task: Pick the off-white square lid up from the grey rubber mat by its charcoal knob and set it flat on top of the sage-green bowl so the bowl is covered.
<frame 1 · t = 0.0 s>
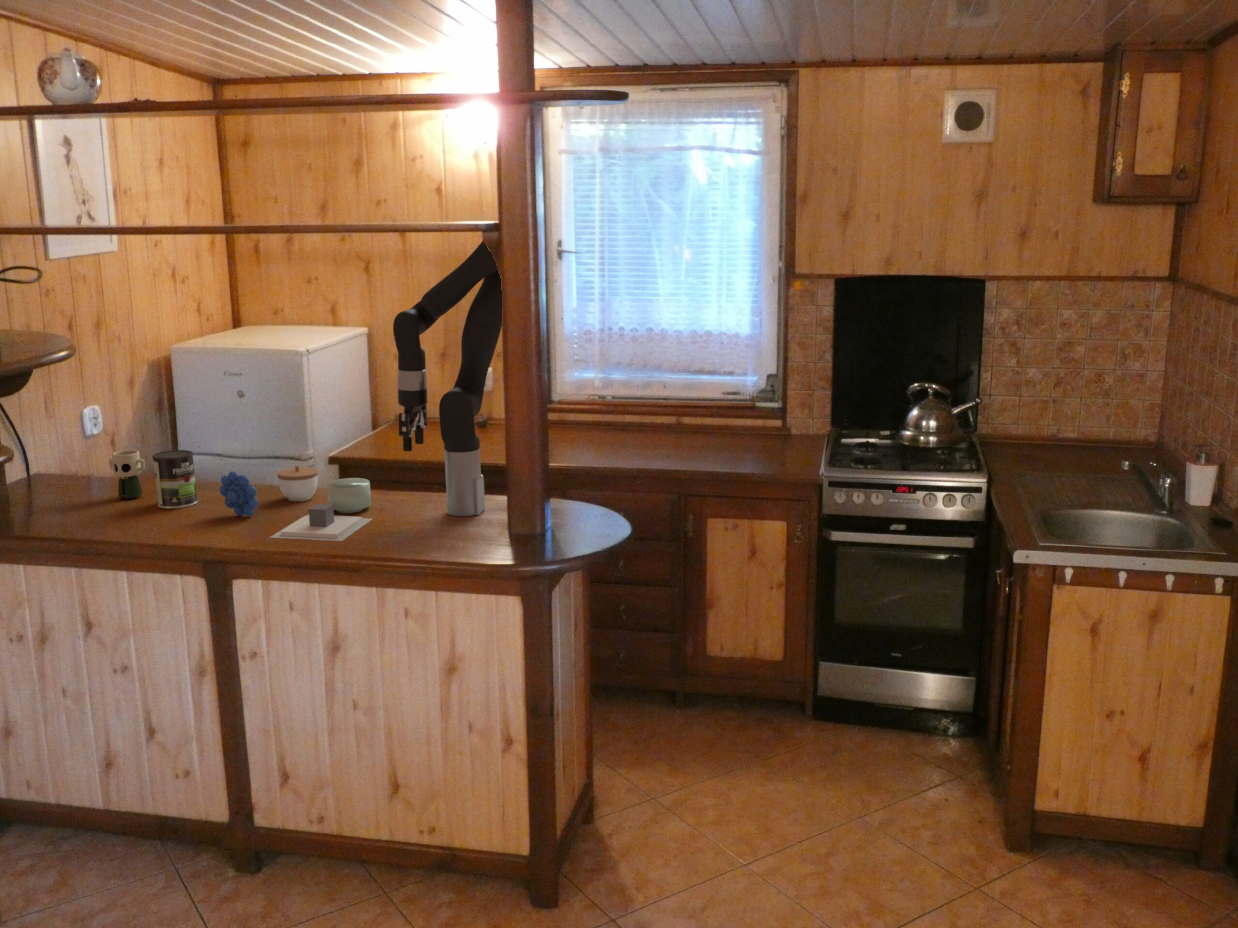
hand: (413, 447, 294), 17 cm above the countertop, tool pointing down, fingers open, 8 cm apart
bowl: (350, 510, 299), on the countertop
character mug: (131, 498, 314), on the countertop
mat: (322, 528, 282), on the countertop
lid: (322, 527, 282), resting on mat
lidded jar: (299, 499, 311), on the countertop
coffee can: (178, 504, 307), on the countertop
grapes: (238, 517, 294), on the countertop
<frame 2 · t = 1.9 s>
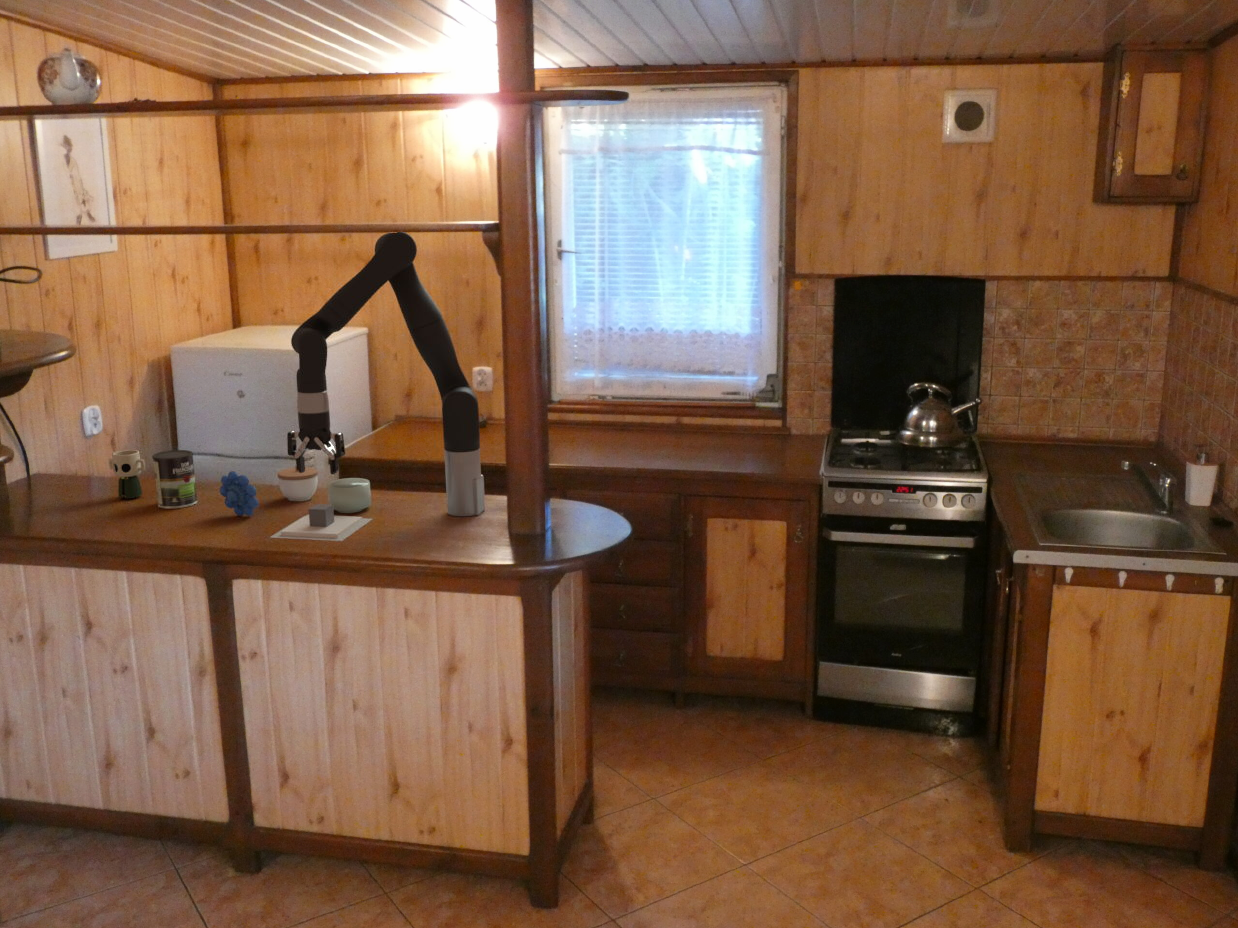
hand: (317, 472, 279), 15 cm above the countertop, tool pointing down, fingers open, 8 cm apart
nothing on the countertop moved.
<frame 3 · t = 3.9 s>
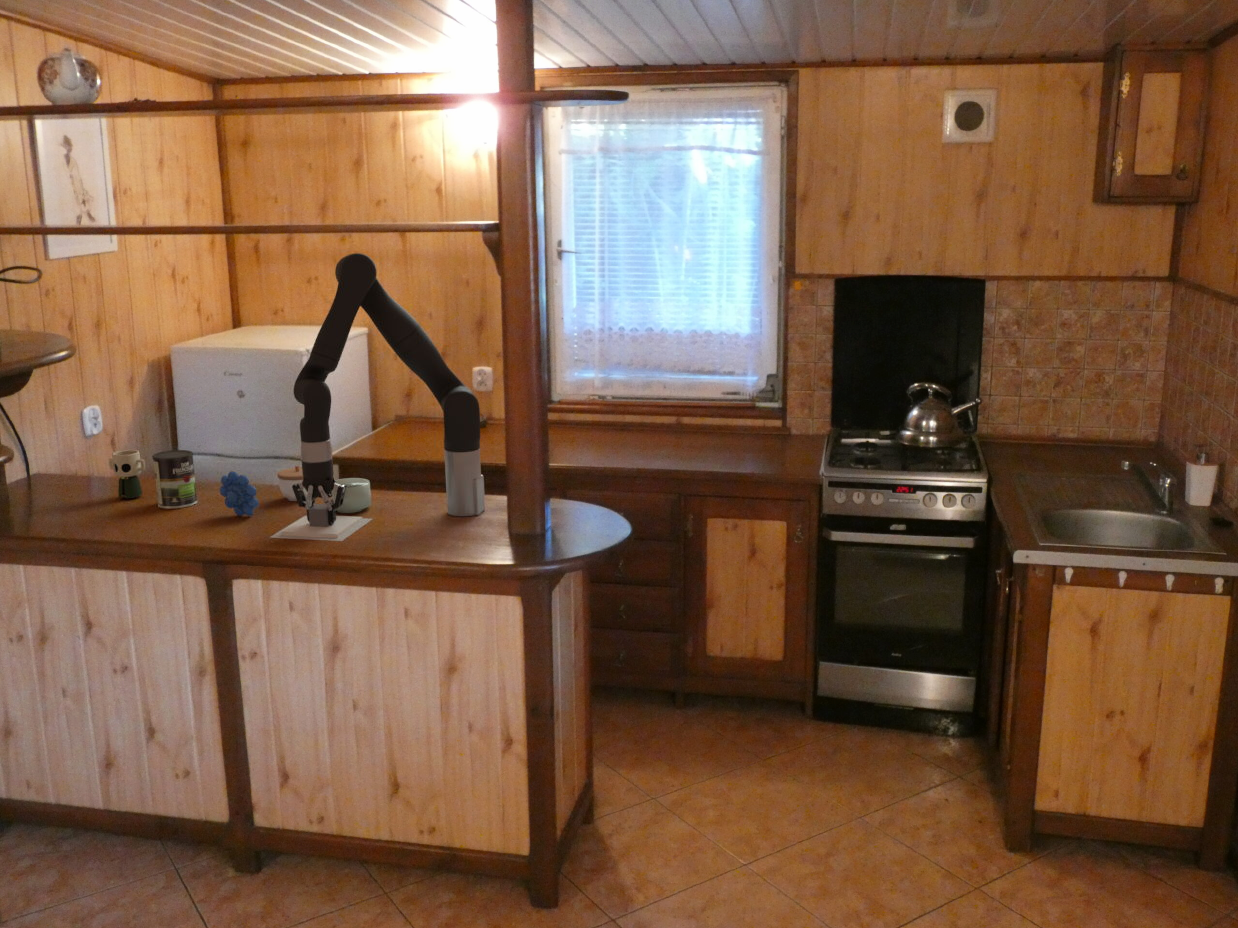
hand: (322, 523, 282), 2 cm above the countertop, tool pointing down, fingers closed on lid, 4 cm apart
lid: (322, 527, 282), resting on mat, touching gripper
everything else where it was.
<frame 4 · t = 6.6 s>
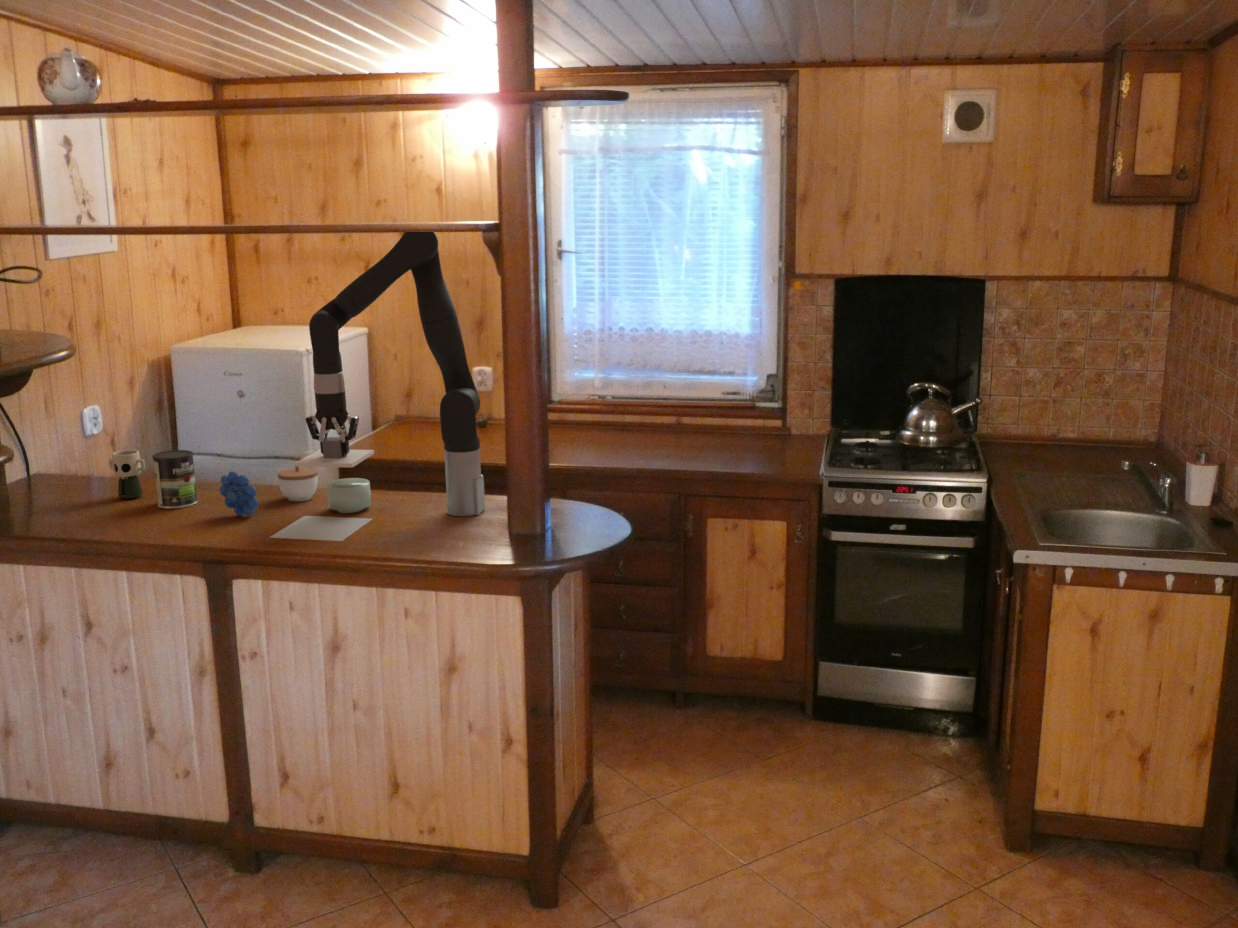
hand: (335, 455, 287), 17 cm above the countertop, tool pointing down, fingers closed on lid, 4 cm apart
lid: (335, 459, 288), point 16 cm above the countertop, touching gripper
everything else where it was.
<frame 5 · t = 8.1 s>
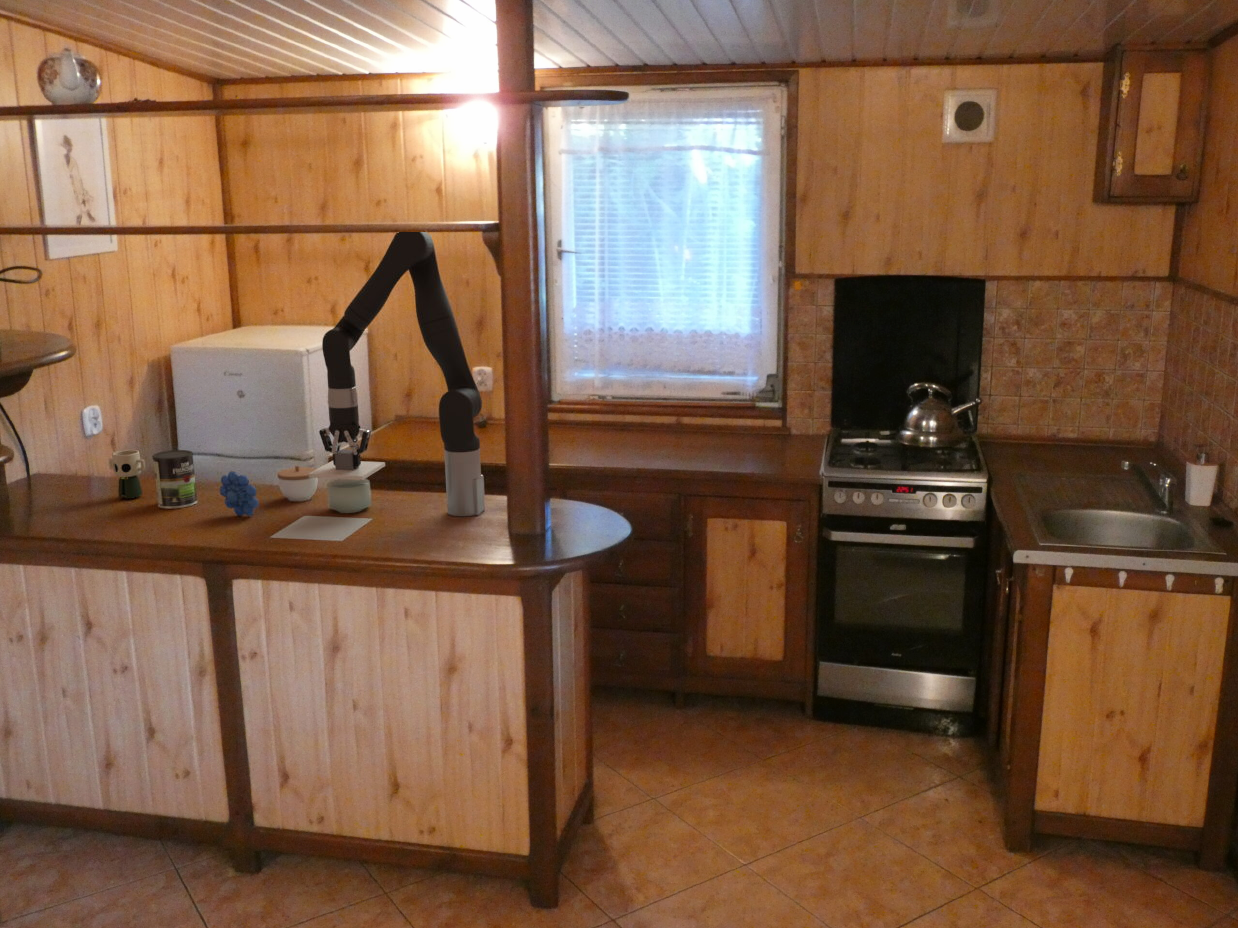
hand: (347, 467, 296), 12 cm above the countertop, tool pointing down, fingers closed on lid, 4 cm apart
lid: (347, 471, 296), point 11 cm above the countertop, touching gripper
everything else where it was.
when the fingers open (10 cm above the countertop, at t = 9.2 s): lid drops 1 cm, resting on bowl.
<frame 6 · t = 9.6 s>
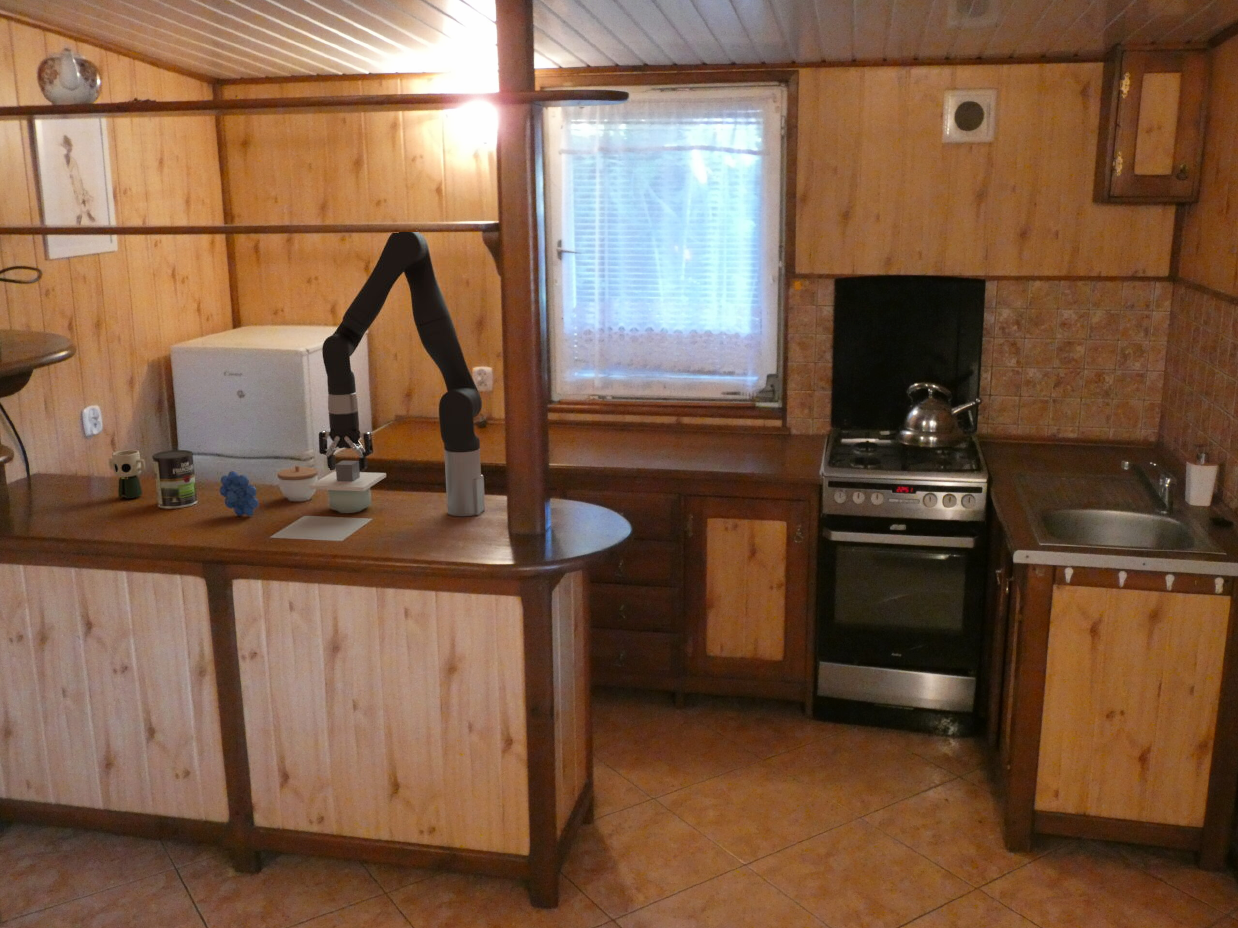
hand: (347, 470, 296), 11 cm above the countertop, tool pointing down, fingers open, 8 cm apart
lid: (348, 482, 297), point 8 cm above the countertop, touching bowl
everything else where it was.
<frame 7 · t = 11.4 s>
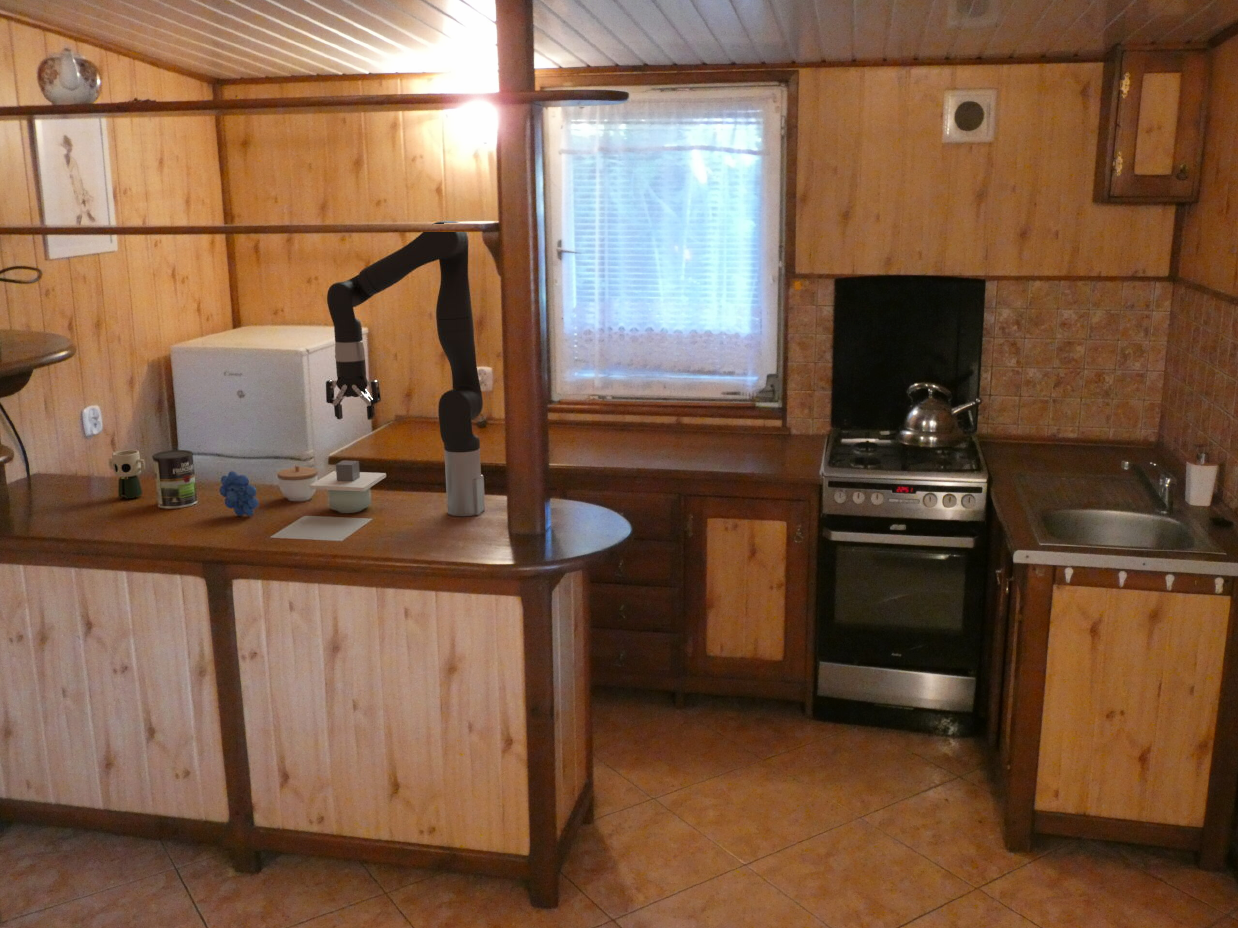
hand: (355, 419, 296), 24 cm above the countertop, tool pointing down, fingers open, 8 cm apart
nothing on the countertop moved.
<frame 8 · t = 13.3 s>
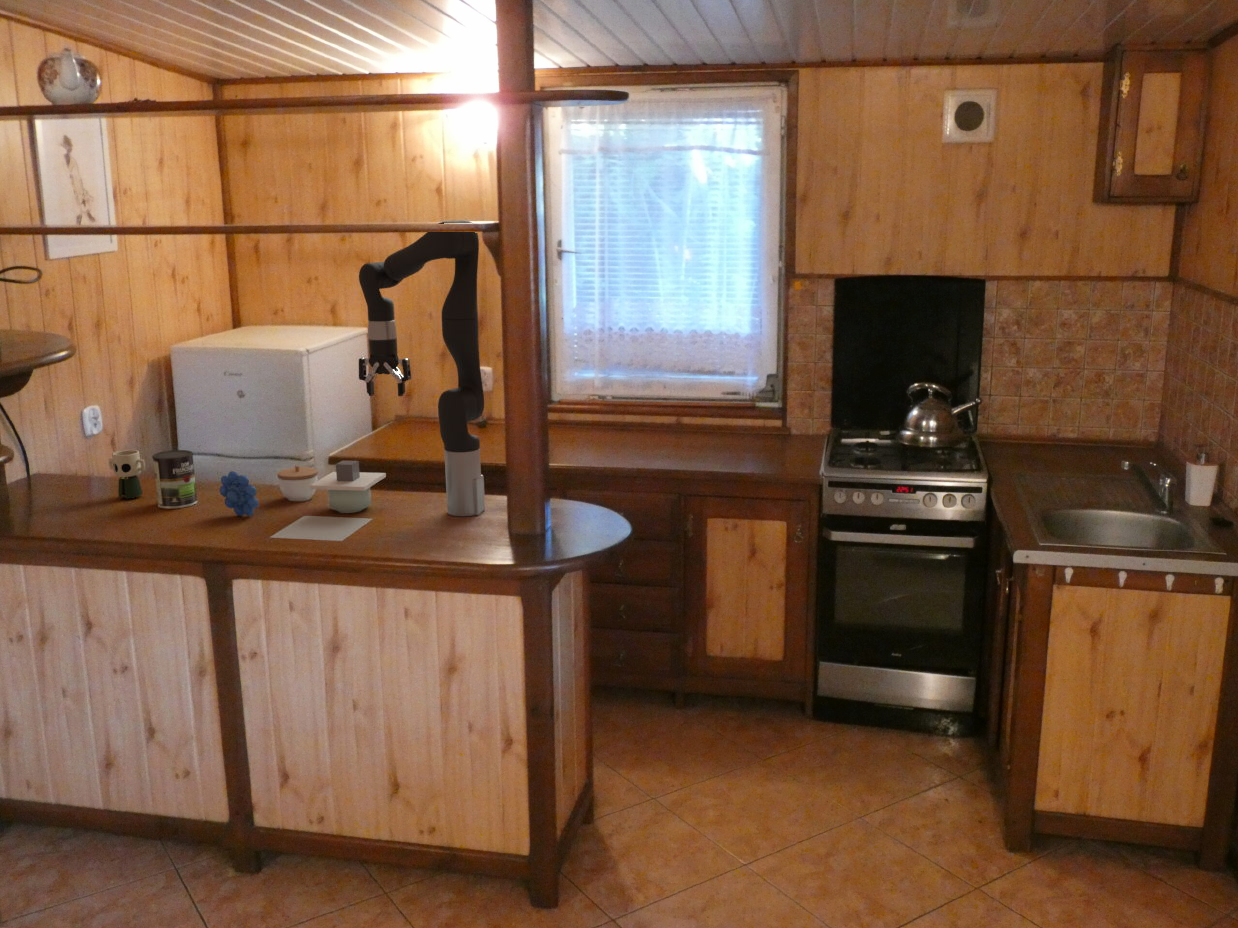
hand: (386, 395, 307), 28 cm above the countertop, tool pointing down, fingers open, 8 cm apart
nothing on the countertop moved.
at the end: lid 0.1 cm off-centre on the bowl, point 7.6 cm above the bowl's base; lid tilted 1°; the gripper is holding nothing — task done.
